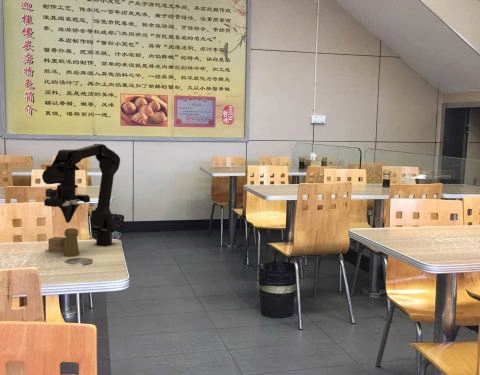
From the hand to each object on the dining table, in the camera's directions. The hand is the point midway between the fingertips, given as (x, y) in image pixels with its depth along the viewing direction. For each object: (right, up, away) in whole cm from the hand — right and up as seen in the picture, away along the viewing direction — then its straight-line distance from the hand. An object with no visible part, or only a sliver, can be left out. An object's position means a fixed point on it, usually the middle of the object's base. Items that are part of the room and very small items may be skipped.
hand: (68, 222), depth 206 cm
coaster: (-6, -12, +7) cm, 16 cm away
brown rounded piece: (+1, -13, 0) cm, 13 cm away
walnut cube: (-6, -12, +7) cm, 15 cm away
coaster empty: (+7, -14, -9) cm, 18 cm away
